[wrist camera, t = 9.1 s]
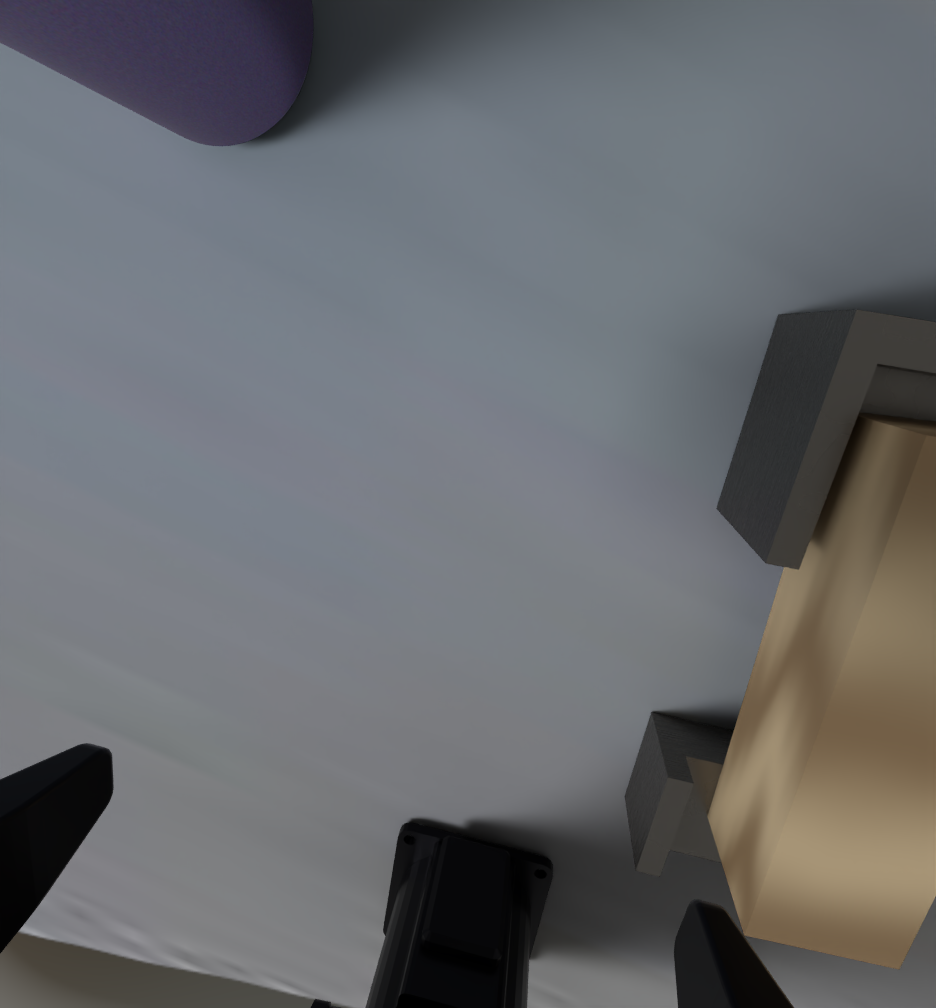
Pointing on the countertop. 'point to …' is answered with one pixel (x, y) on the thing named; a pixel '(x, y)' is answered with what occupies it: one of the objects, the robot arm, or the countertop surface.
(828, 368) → the bracket
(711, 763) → the dark grey arch block
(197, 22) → the beverage can
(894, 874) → the rail
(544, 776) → the countertop surface
